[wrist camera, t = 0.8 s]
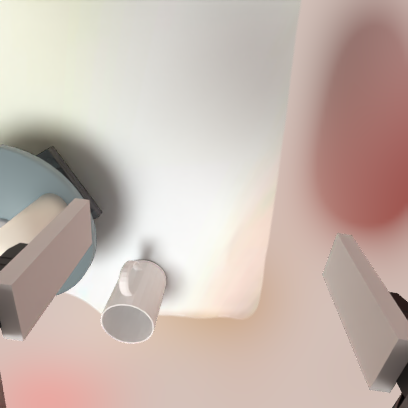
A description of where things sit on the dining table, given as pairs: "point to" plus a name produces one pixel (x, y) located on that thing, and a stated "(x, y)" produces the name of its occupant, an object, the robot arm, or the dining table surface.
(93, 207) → the square pedestal base
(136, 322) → the mug
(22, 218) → the handwheel
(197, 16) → the dining table surface
